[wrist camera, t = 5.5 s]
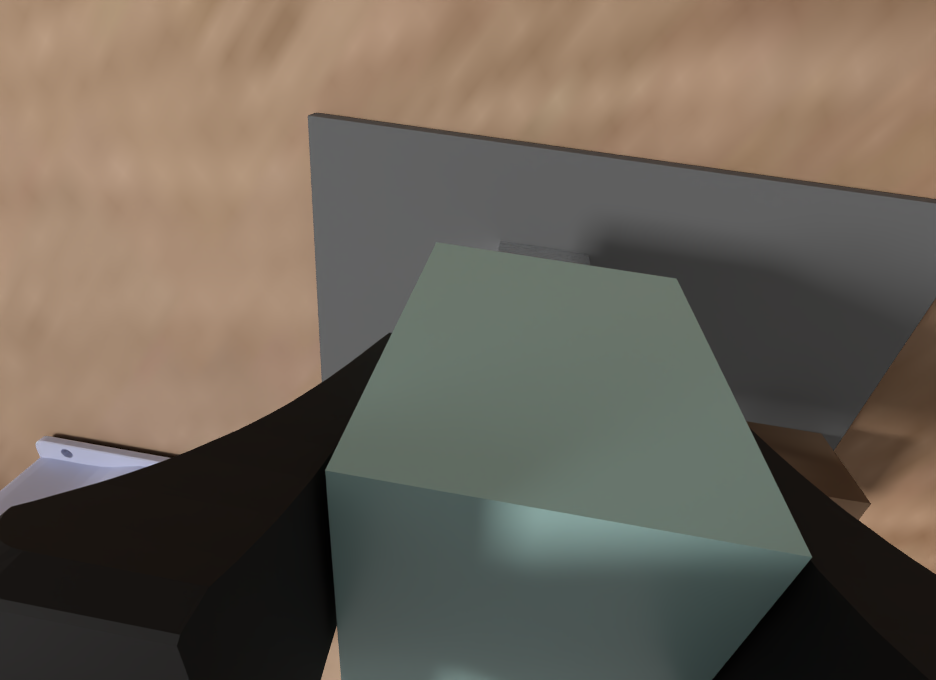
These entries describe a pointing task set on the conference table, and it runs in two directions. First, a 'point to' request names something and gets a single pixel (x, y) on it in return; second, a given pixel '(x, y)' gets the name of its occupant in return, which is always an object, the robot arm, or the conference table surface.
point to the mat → (635, 252)
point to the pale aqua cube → (550, 485)
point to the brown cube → (815, 464)
